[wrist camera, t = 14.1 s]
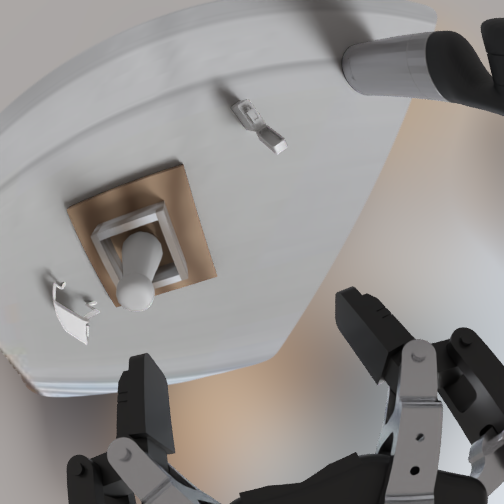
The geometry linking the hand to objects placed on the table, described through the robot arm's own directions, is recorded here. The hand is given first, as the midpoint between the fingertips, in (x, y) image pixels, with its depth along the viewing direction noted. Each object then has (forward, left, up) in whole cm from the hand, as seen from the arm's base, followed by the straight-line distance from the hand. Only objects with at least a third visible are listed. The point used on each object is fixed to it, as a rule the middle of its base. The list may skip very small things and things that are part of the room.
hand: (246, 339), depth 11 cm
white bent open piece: (+27, +14, -30) cm, 43 cm away
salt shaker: (+10, +7, -29) cm, 31 cm away
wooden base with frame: (+10, +7, -30) cm, 32 cm away
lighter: (-9, -5, -30) cm, 32 cm away
